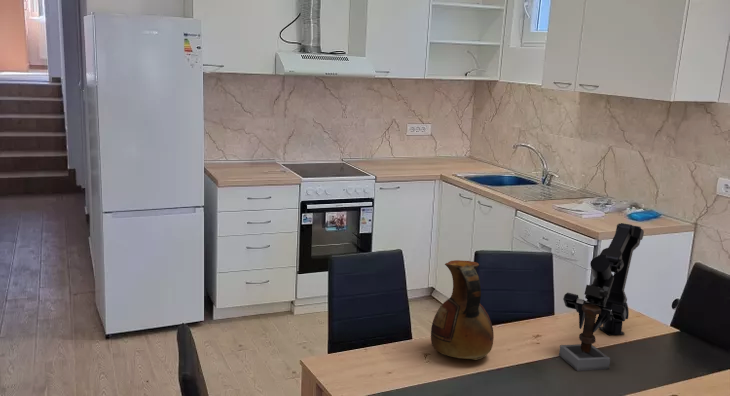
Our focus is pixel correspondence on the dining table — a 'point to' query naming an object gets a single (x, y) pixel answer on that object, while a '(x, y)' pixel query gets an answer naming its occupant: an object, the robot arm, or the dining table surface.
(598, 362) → the socket block
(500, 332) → the dining table surface
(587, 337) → the bolt
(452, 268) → the ceramic pitcher
